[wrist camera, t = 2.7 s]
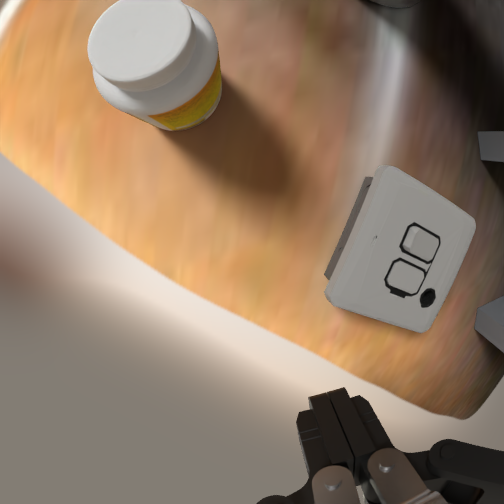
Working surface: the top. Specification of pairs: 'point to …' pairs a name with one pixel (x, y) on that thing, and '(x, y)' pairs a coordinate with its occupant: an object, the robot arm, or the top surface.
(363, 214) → the electrical switch
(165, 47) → the supplement bottle
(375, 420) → the robot arm
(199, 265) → the top surface
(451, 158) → the top surface
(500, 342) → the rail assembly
